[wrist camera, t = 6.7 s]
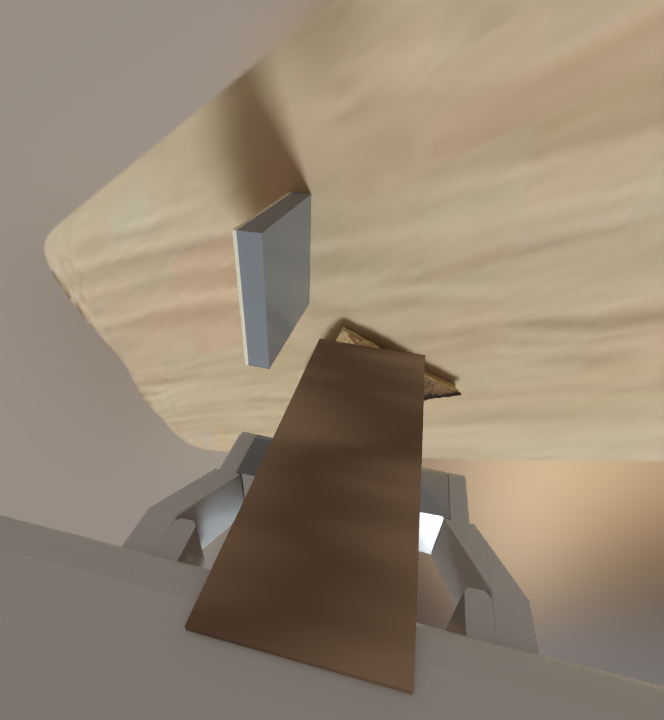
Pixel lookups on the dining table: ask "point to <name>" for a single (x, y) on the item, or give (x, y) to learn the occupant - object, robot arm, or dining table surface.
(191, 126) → the dining table surface
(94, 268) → the dining table surface
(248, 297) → the slate board
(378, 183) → the dining table surface
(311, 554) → the walnut block
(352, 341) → the shard
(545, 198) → the dining table surface
